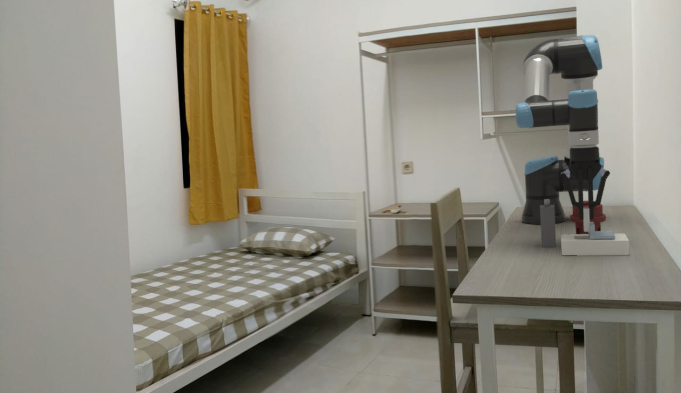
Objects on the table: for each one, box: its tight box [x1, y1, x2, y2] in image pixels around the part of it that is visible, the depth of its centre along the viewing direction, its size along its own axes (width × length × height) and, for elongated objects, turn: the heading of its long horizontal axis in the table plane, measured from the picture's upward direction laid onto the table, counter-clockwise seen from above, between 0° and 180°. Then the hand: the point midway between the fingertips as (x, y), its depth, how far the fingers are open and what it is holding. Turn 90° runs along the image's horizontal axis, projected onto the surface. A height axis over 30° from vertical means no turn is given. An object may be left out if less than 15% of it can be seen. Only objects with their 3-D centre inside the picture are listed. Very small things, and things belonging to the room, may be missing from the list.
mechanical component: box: [569, 200, 607, 234], centre depth 185 cm, size 12×10×10 cm
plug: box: [540, 199, 557, 248], centre depth 184 cm, size 4×4×14 cm
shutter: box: [588, 222, 616, 239], centre depth 172 cm, size 7×6×4 cm
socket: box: [560, 233, 630, 256], centre depth 173 cm, size 10×17×4 cm, turn 71°
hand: (586, 230), depth 173 cm, fingers closed
